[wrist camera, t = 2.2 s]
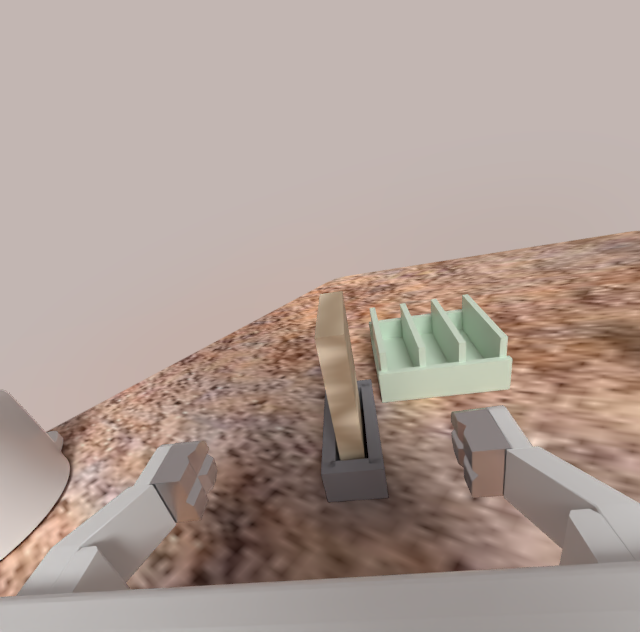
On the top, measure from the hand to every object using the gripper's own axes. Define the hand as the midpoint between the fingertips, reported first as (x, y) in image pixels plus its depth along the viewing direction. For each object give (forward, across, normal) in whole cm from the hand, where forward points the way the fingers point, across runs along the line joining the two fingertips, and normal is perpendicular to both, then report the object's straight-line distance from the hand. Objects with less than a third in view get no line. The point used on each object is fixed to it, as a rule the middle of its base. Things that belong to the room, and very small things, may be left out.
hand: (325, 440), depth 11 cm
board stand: (+13, 0, +14) cm, 19 cm away
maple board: (+13, 0, +14) cm, 19 cm away
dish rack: (+23, -8, +14) cm, 29 cm away
